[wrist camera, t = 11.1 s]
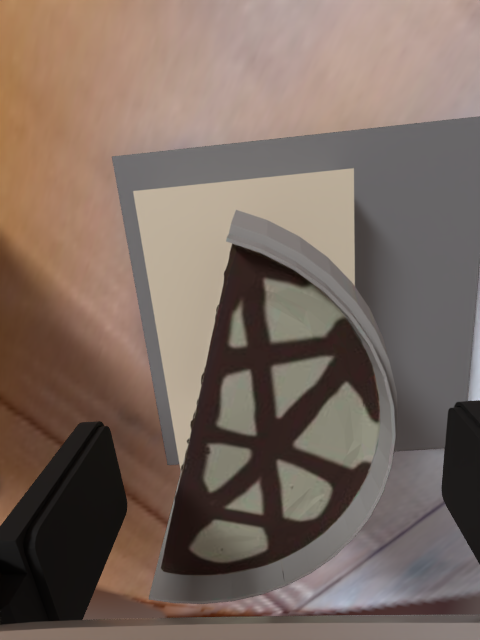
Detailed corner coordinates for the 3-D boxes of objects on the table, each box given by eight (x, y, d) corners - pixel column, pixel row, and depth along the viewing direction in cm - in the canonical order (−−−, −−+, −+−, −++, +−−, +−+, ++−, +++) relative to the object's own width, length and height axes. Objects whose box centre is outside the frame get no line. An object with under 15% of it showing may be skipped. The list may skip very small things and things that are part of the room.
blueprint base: (481, 118, 21) (548, 96, 16) (455, 438, 27) (499, 490, 22) (117, 158, 22) (81, 148, 18) (170, 455, 28) (153, 508, 24)
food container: (300, 452, 22) (335, 649, 12) (192, 429, 22) (145, 611, 12) (372, 233, 18) (501, 278, 9) (243, 202, 18) (231, 213, 8)
